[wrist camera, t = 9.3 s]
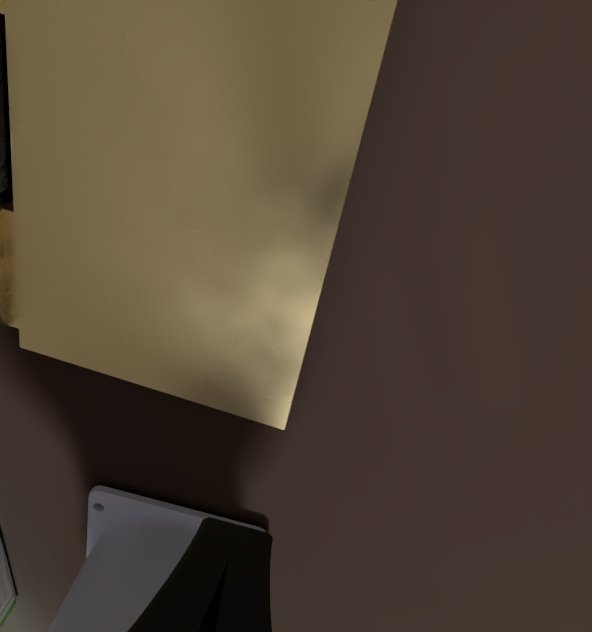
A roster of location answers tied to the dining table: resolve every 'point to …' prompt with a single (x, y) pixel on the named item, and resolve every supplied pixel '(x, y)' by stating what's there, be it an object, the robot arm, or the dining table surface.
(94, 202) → the brass leaf
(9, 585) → the syrup box
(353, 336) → the dining table surface
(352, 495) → the dining table surface
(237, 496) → the dining table surface
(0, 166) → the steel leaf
